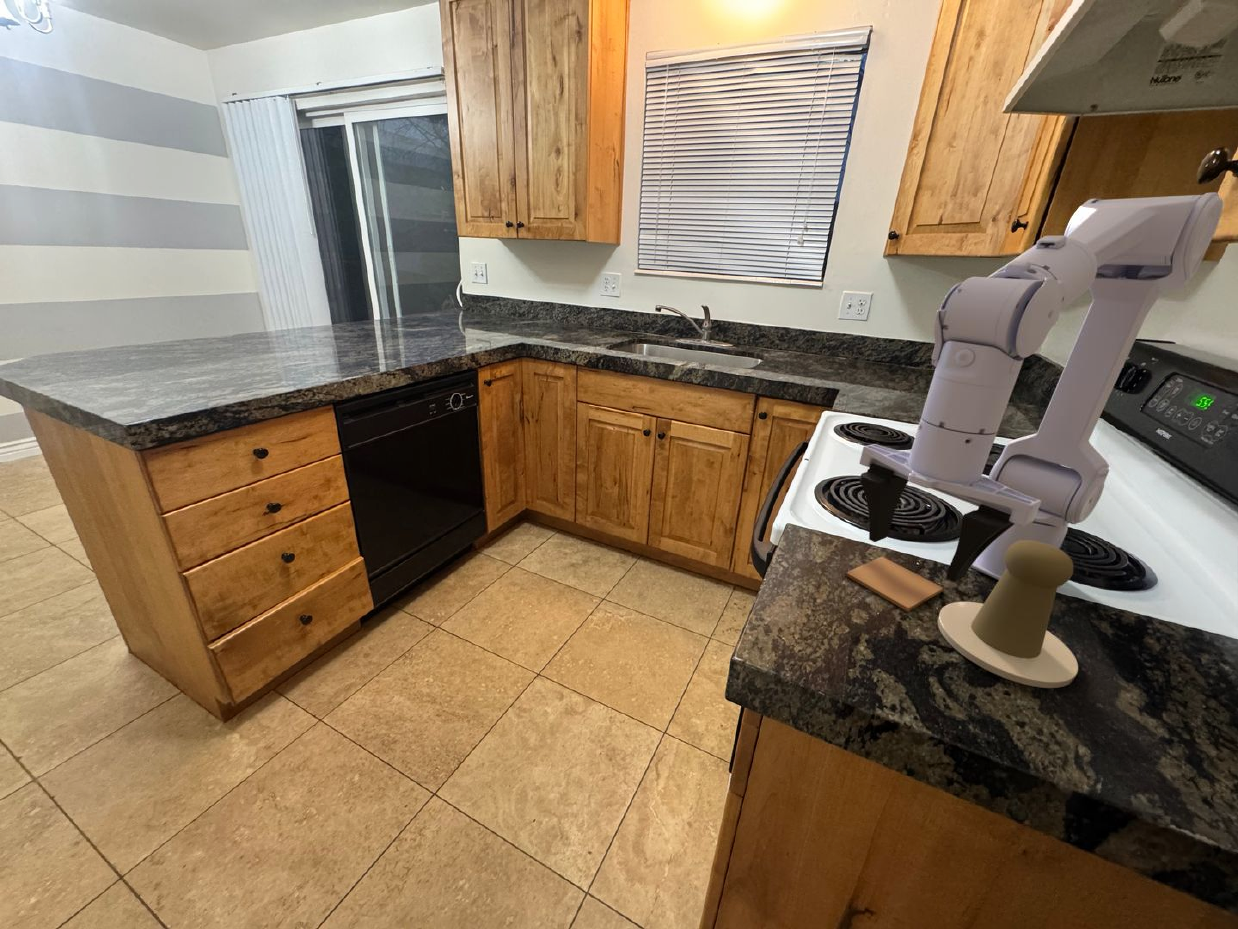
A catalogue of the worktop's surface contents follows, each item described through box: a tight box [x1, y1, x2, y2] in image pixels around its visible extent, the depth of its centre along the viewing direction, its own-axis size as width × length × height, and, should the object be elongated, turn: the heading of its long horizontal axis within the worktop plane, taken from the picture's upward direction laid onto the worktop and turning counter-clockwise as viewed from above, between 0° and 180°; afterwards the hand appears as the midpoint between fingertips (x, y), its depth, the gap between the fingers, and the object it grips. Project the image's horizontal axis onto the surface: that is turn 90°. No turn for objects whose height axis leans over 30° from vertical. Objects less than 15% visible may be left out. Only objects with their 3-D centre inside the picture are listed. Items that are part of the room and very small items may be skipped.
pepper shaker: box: [971, 540, 1074, 659], centre depth 50 cm, size 6×6×11 cm
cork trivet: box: [845, 556, 944, 612], centre depth 62 cm, size 8×8×1 cm
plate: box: [937, 601, 1079, 689], centre depth 52 cm, size 12×12×1 cm
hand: (913, 557), depth 48 cm, fingers open, 7 cm apart
